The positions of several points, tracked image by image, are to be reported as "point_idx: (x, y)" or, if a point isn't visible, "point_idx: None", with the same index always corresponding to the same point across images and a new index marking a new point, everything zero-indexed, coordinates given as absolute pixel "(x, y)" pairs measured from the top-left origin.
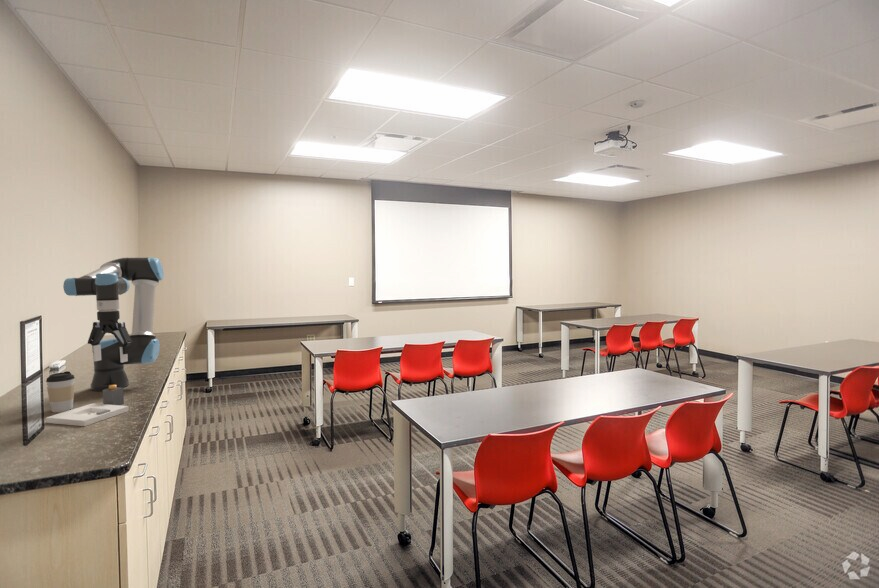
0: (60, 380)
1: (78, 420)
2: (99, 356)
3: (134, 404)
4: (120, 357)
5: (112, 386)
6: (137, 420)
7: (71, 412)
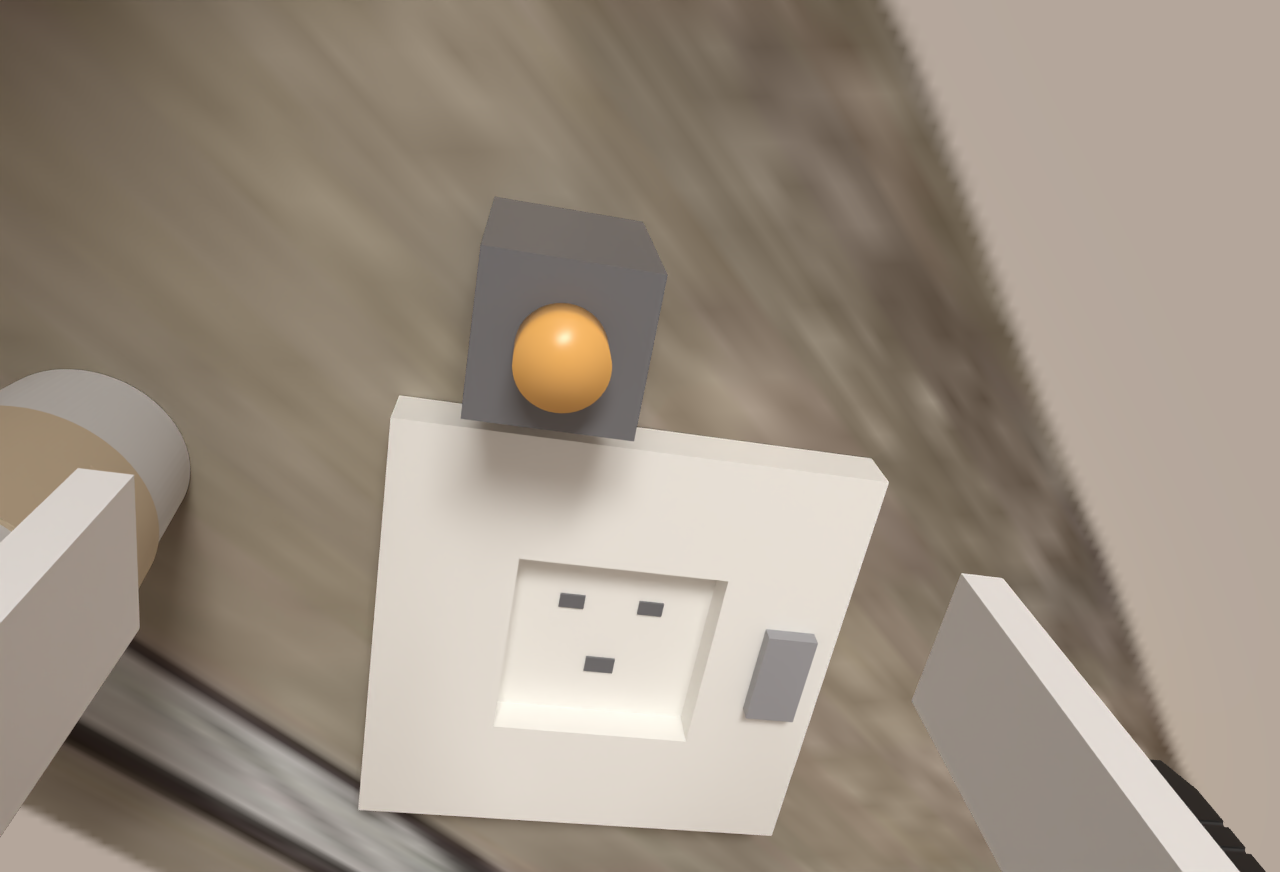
0: None
1: (709, 830)
2: (84, 589)
3: (787, 236)
4: (966, 791)
5: (590, 401)
6: (1095, 668)
7: (458, 689)
